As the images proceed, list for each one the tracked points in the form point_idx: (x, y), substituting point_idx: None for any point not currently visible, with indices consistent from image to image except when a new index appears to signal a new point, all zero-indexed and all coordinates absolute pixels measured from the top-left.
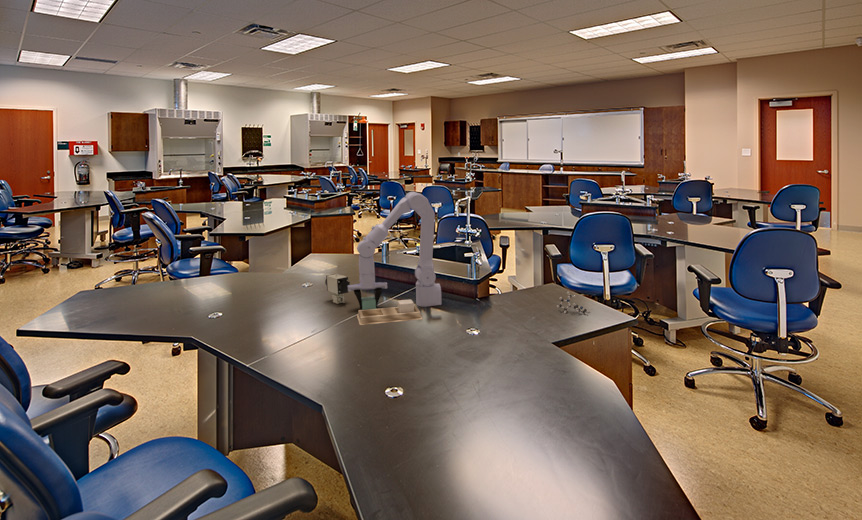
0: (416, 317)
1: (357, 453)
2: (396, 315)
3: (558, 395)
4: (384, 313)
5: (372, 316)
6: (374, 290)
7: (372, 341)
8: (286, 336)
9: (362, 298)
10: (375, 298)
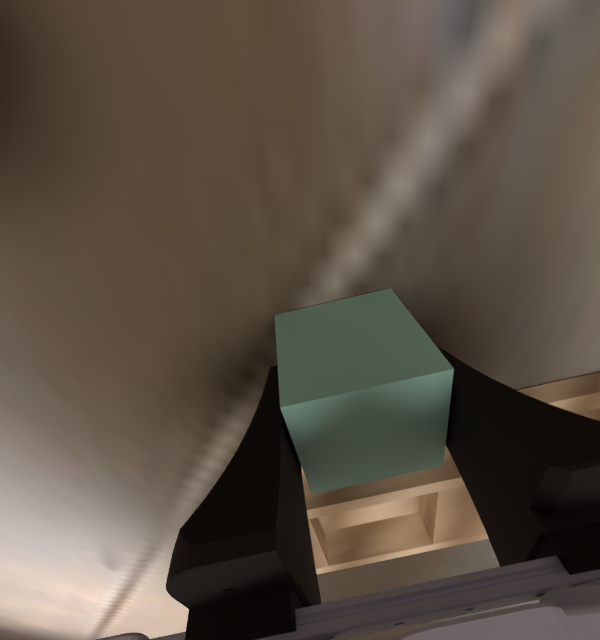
0: None
1: None
2: None
3: None
4: (442, 532)
5: (375, 560)
6: (521, 478)
7: (356, 581)
8: (30, 595)
9: (305, 428)
10: (453, 438)
